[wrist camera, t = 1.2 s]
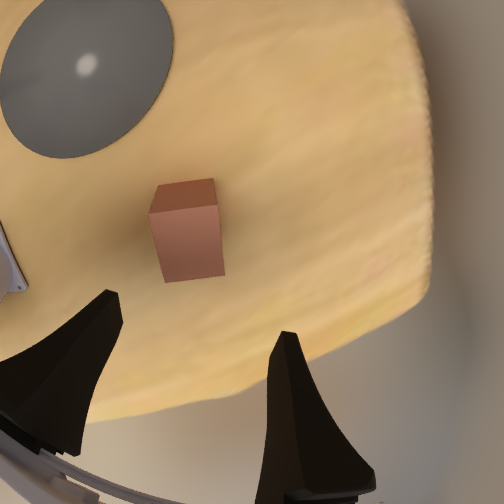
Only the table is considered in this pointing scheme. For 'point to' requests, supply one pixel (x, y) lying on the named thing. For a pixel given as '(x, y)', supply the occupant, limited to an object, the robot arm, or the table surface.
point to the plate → (84, 73)
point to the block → (187, 230)
